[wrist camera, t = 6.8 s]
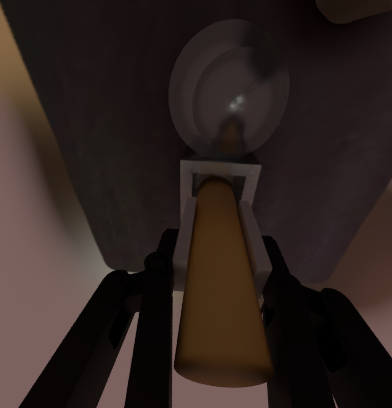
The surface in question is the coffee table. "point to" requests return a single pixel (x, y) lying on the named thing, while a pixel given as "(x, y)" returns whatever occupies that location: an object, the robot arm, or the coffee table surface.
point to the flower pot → (351, 9)
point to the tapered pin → (220, 299)
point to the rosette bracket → (227, 104)
